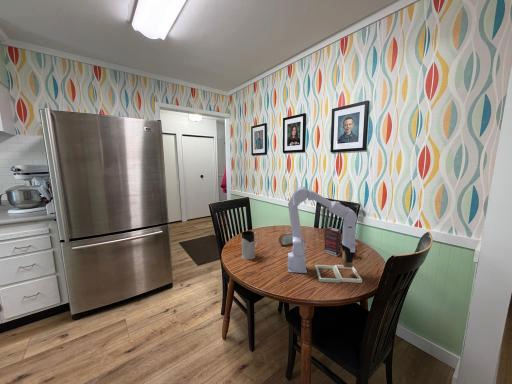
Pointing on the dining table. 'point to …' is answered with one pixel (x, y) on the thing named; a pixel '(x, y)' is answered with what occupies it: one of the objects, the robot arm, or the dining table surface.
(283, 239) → the tin
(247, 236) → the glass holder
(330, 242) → the supplement box
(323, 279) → the pale green rectangular frame
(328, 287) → the dining table surface
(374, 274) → the dining table surface
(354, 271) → the tray
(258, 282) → the dining table surface
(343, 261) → the block
